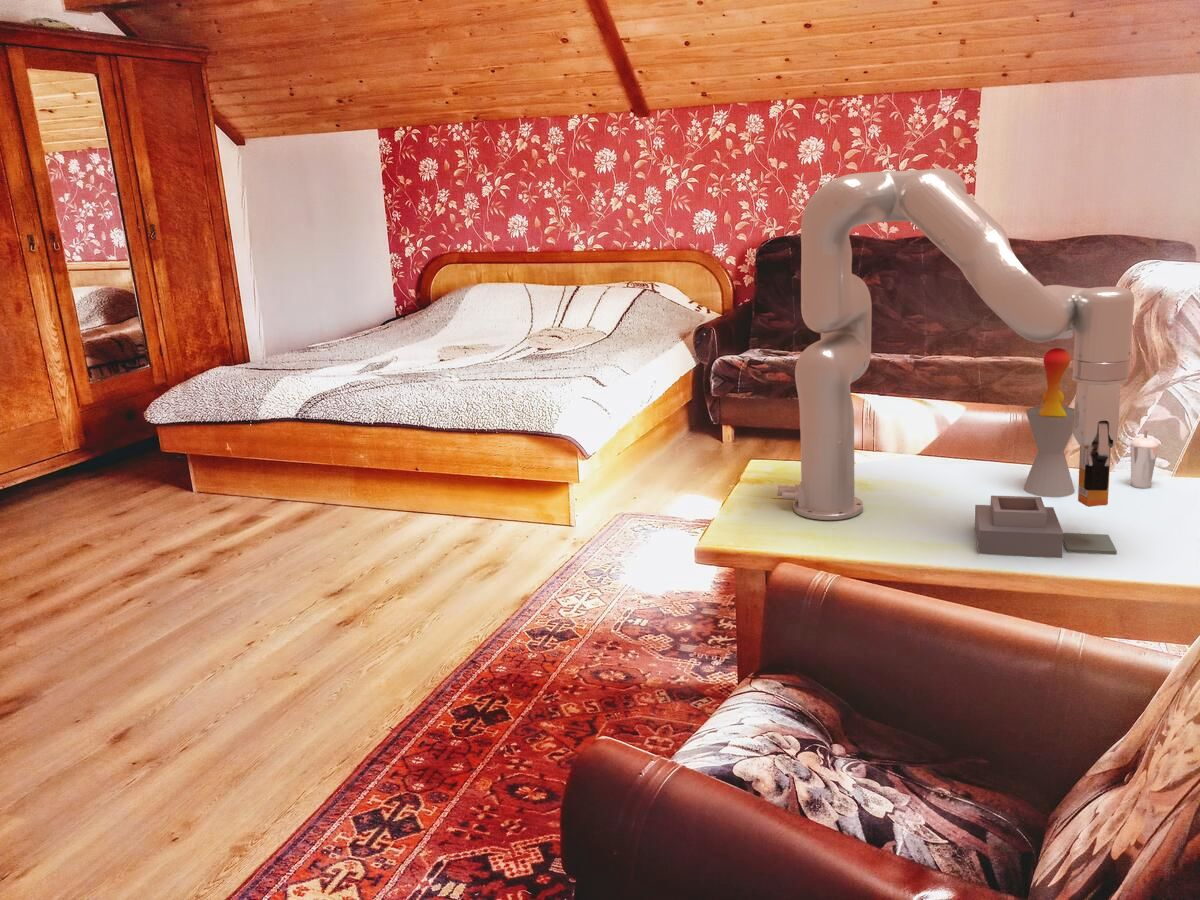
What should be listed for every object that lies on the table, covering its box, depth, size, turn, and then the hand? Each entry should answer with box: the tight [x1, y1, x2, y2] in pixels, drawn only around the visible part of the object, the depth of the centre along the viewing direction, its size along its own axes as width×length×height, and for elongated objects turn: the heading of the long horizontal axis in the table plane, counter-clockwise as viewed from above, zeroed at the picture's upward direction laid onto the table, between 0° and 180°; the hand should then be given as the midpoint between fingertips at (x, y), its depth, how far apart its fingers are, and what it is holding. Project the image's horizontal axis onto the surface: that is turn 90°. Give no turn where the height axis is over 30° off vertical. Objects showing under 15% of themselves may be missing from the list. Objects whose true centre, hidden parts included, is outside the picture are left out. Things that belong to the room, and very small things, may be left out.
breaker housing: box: [974, 495, 1064, 559], centre depth 151 cm, size 12×12×6 cm
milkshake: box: [1129, 428, 1160, 489], centre depth 171 cm, size 5×5×10 cm
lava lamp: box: [1023, 331, 1075, 498], centre depth 169 cm, size 9×9×35 cm
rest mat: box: [1063, 532, 1118, 555], centre depth 148 cm, size 7×7×1 cm
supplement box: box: [1077, 442, 1112, 508], centre depth 145 cm, size 3×4×10 cm
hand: (1092, 483), depth 145 cm, fingers closed on supplement box, 3 cm apart
